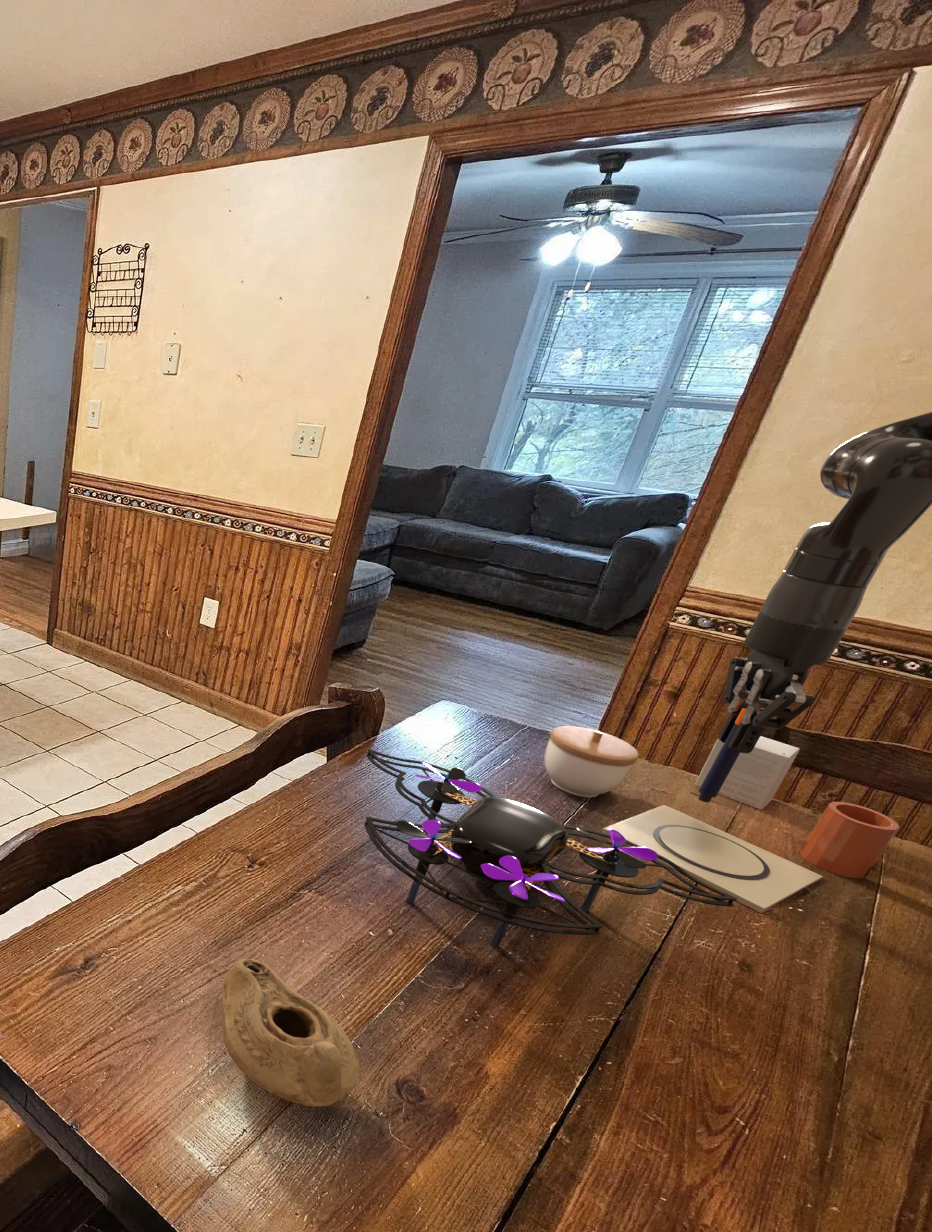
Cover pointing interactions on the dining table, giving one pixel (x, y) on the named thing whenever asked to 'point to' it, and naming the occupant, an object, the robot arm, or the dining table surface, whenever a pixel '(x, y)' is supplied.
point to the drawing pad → (716, 857)
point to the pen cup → (848, 839)
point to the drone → (514, 852)
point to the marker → (720, 766)
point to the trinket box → (587, 760)
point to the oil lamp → (285, 1038)
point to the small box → (754, 772)
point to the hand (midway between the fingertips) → (733, 746)
